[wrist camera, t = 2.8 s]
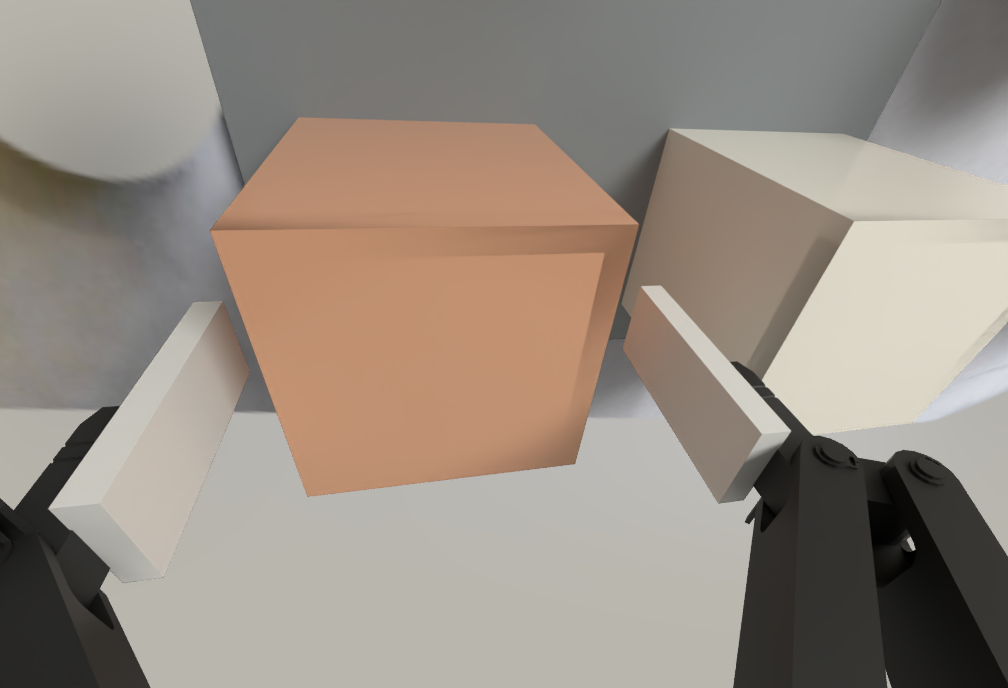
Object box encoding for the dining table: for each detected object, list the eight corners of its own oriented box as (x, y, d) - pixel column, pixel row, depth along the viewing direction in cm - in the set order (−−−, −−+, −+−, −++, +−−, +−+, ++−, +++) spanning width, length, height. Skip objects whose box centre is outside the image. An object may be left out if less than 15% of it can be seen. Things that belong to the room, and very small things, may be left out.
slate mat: (298, 353, 23) (296, 360, 23) (76, -418, 10) (60, -439, 9) (759, 323, 28) (765, 329, 28) (1033, -204, 15) (1053, -210, 14)
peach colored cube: (339, 318, 22) (307, 496, 14) (298, 117, 16) (209, 230, 8) (516, 309, 23) (574, 464, 16) (535, 124, 18) (639, 224, 10)
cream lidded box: (621, 303, 24) (723, 445, 17) (669, 128, 19) (854, 221, 11) (761, 296, 26) (912, 422, 19) (843, 133, 21) (1106, 217, 13)
